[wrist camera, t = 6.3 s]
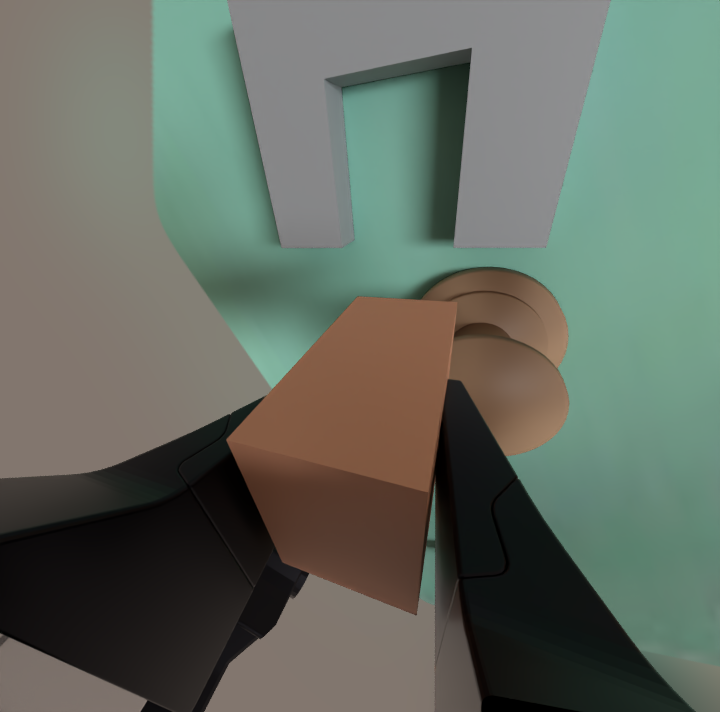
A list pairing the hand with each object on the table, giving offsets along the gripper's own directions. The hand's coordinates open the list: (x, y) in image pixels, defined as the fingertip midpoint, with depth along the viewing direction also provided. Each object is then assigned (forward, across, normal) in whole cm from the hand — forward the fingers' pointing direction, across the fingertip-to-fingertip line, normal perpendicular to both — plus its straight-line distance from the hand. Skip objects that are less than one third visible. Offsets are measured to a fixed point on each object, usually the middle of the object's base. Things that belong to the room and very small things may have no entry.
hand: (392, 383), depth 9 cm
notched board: (+11, +2, -7) cm, 13 cm away
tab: (+2, 0, 0) cm, 2 cm away
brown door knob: (+11, -3, +4) cm, 12 cm away
